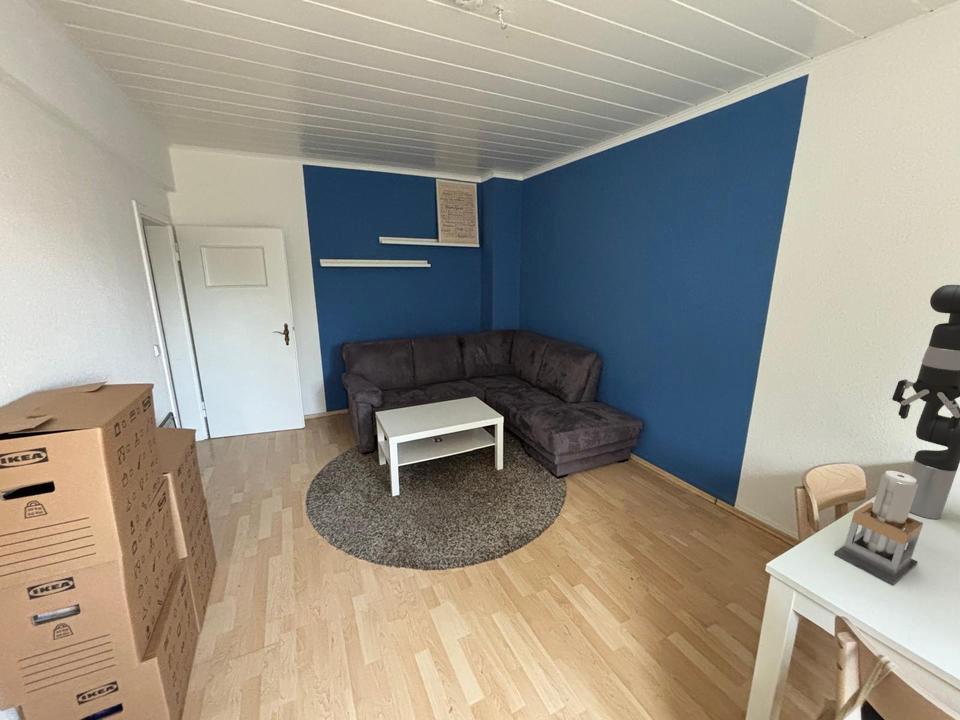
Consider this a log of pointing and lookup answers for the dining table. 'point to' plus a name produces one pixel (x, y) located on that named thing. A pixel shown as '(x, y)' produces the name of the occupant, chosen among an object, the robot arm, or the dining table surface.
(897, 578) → the collar stand
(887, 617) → the dining table surface
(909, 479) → the grey cylinder
